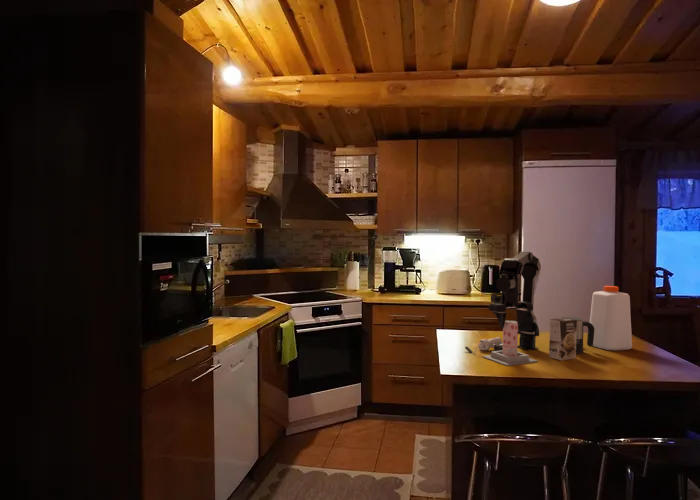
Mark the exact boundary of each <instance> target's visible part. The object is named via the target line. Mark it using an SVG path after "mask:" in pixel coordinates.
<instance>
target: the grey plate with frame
mask: <svg viewBox="0 0 700 500" xmlns="http://www.w3.org/2000/svg"><path fill="white" fill-rule="evenodd" d="M502 352H503V350H501V351H494V350H493V351H490V354H488V355H482V356H481V357H482V358H484V359H487V360H489V361H491V362H494V363H498V364H499V365H503V366H506V367H509V366H517V365H518V366H519V365H524V364H525V365H526V364H532V363H538V362H539V361H538V360H537V359H534V358H530V355H529V354H526V353H523V352H520V351H517V356H511V357H509V356H506V355H503V354H502Z"/></svg>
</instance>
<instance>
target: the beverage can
mask: <svg viewBox="0 0 700 500" xmlns="http://www.w3.org/2000/svg"><path fill="white" fill-rule="evenodd" d="M518 335H519V334H518V322H517V321H516V320H506V319H505V324H504V328H503V329H502V343H503V352H502V354H503V355H506V356H509V357H511V356H517V352H518V347H517V346H518V339H519V337H518Z"/></svg>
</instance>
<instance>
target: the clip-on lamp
mask: <svg viewBox="0 0 700 500" xmlns="http://www.w3.org/2000/svg"><path fill="white" fill-rule="evenodd" d="M464 347H465V350H466V351H467V352H469V354H472V355H473V354H476V352H477V349H479V350H480V351H483V350H484V352H485V351H489V350H490V349H491V348H492V349H493V351H501V350H503V339H502V338H501V337H499V336H496V337H493V338H488V339H487V338H483V339H480V340H479V343H478V345H477V347H476V349H475V351H472V349H471V348H469V346H466V345H464Z"/></svg>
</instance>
